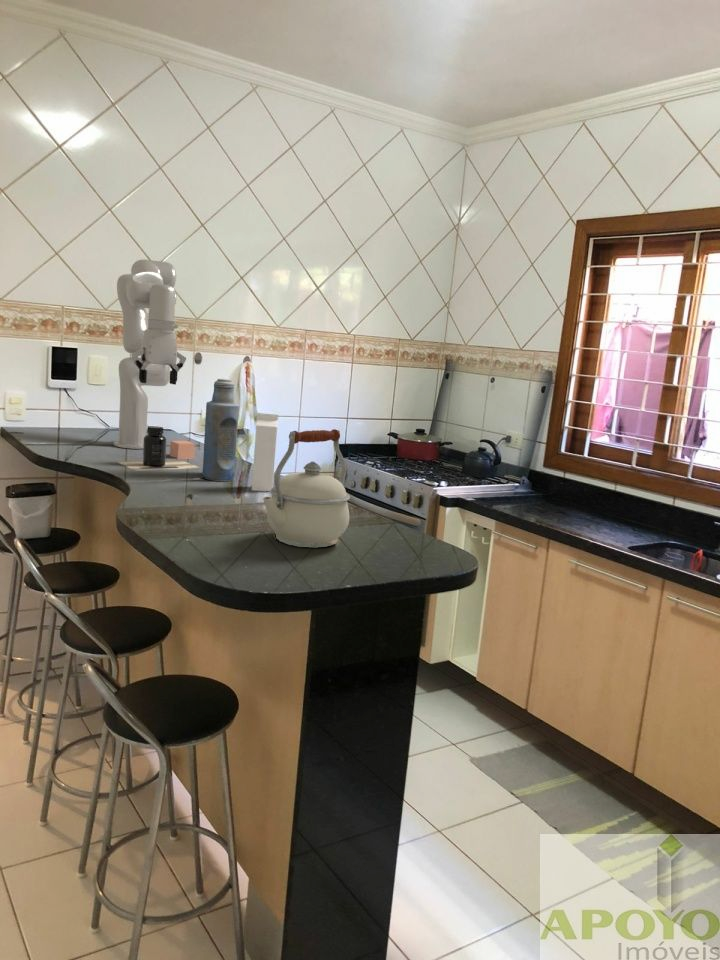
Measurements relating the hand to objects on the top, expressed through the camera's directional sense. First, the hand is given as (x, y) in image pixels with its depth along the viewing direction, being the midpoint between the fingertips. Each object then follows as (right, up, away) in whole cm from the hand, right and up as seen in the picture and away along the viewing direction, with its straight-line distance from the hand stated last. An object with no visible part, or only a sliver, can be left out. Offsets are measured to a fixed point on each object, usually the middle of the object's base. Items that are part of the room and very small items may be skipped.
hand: (158, 383), depth 234 cm
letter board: (-1, -26, +6) cm, 26 cm away
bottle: (+19, -29, -2) cm, 35 cm away
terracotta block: (+2, -23, +25) cm, 33 cm away
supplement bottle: (-3, -25, +5) cm, 26 cm away
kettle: (+49, -43, -64) cm, 91 cm away
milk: (+33, -32, -11) cm, 48 cm away
